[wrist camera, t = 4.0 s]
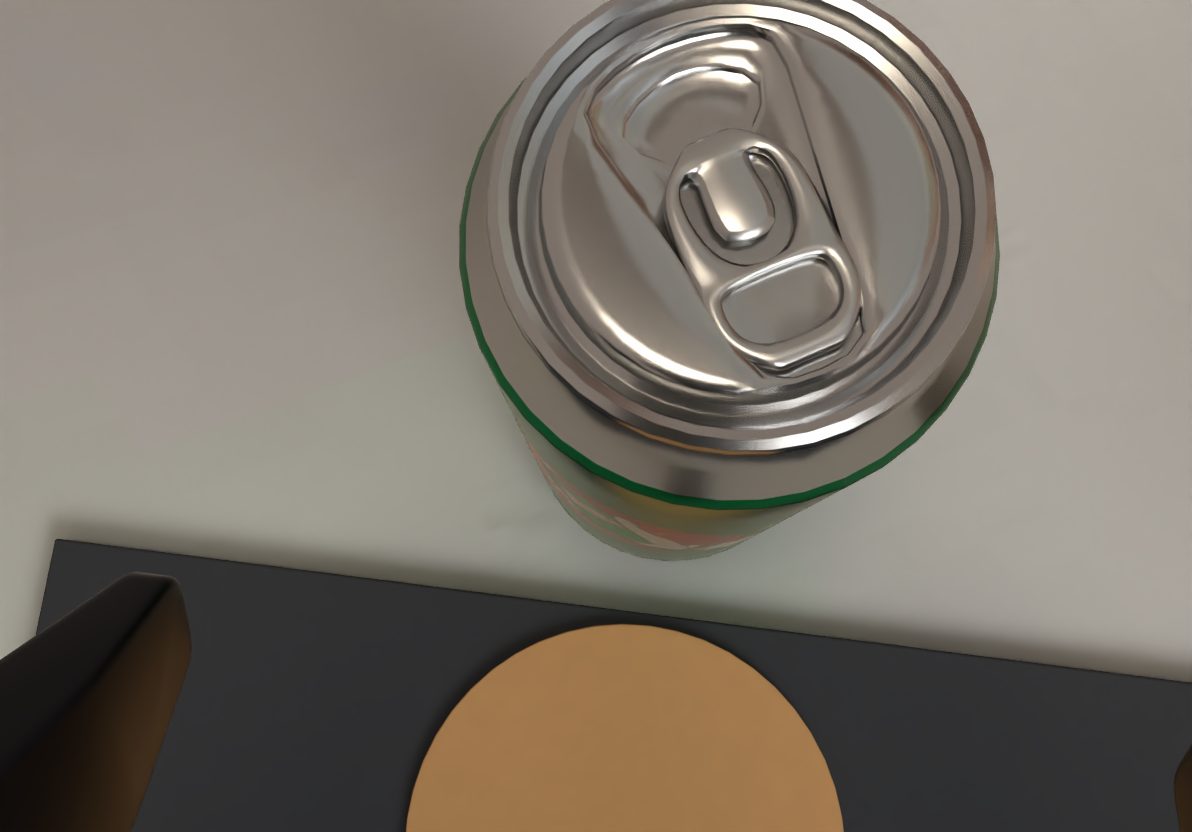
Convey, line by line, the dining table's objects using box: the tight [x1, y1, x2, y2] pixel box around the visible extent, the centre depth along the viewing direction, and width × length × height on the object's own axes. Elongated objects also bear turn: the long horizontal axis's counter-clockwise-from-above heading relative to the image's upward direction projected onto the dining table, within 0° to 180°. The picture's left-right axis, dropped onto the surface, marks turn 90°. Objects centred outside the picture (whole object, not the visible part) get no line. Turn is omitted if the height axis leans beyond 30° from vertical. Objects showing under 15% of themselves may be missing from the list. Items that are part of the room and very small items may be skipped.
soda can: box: [459, 0, 1000, 561], centre depth 15 cm, size 5×5×12 cm
